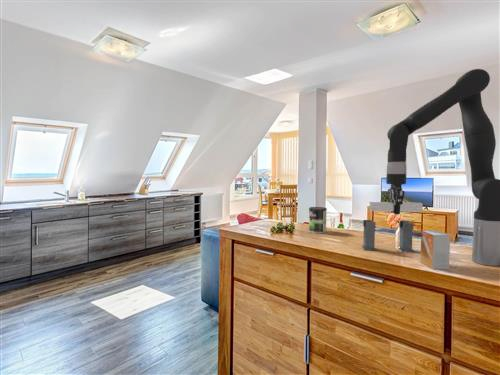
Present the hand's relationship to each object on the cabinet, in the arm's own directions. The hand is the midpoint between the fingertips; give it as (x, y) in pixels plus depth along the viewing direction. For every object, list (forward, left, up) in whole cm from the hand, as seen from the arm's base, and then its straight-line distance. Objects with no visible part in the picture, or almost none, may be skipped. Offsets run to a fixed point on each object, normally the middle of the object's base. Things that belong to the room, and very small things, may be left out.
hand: (395, 213), depth 125 cm
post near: (-8, -10, -18) cm, 22 cm away
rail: (0, 0, +1) cm, 1 cm away
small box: (-11, +12, -19) cm, 24 cm away
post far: (+8, -10, -18) cm, 22 cm away
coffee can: (+29, -45, -19) cm, 57 cm away
